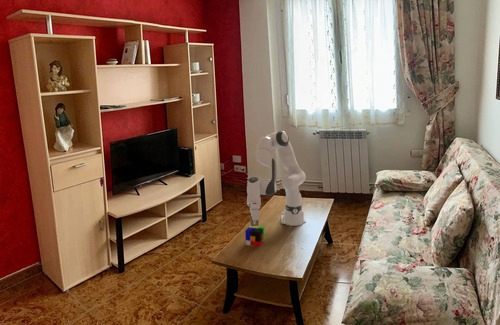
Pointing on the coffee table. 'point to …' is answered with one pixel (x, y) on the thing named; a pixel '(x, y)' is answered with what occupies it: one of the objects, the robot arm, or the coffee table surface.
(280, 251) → the coffee table surface
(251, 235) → the puzzle toy
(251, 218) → the walnut block
